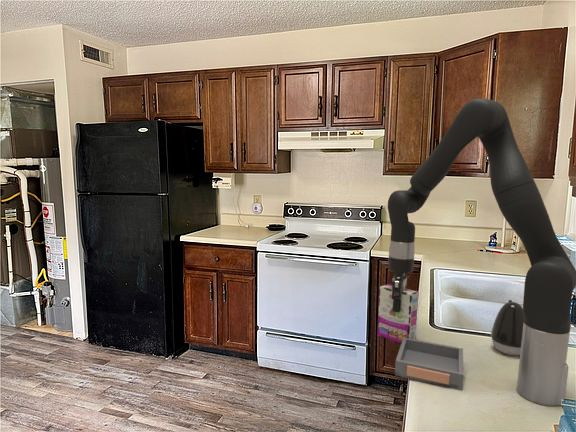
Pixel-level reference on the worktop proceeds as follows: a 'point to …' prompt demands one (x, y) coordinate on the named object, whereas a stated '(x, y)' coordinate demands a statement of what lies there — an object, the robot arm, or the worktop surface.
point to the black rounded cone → (508, 328)
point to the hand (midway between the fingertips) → (397, 308)
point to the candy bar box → (397, 315)
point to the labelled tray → (430, 363)
